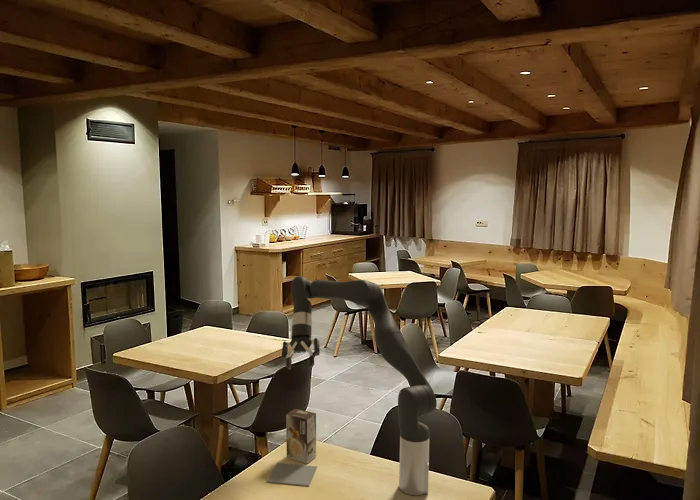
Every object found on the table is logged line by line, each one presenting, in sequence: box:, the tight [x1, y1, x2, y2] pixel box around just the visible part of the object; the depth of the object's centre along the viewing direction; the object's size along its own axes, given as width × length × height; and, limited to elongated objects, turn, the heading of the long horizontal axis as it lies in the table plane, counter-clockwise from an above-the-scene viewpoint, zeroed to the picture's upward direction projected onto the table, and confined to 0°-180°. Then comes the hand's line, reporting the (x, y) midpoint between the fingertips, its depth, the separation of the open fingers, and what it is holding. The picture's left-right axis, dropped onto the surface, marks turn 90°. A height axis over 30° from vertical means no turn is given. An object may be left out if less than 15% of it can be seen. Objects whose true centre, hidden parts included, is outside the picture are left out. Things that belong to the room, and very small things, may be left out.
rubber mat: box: [266, 462, 318, 487], centre depth 174 cm, size 14×12×1 cm
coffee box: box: [285, 408, 317, 465], centre depth 185 cm, size 9×6×16 cm
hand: (299, 368), depth 191 cm, fingers open, 8 cm apart
